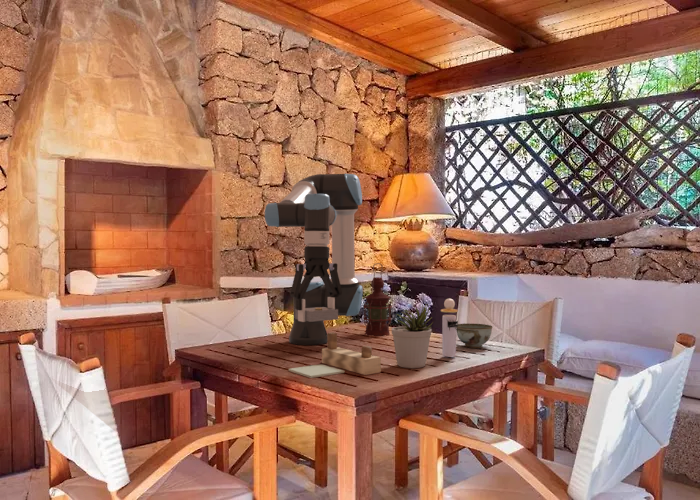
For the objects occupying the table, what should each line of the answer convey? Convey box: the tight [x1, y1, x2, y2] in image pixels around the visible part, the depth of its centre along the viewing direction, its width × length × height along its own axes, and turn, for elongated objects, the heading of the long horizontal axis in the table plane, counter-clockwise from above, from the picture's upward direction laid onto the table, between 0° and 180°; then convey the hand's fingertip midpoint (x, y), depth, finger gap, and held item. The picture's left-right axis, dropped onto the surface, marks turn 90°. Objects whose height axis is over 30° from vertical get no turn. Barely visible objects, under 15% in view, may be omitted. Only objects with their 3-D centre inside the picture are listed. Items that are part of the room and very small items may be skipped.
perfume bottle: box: [440, 297, 459, 357], centre depth 205 cm, size 6×6×20 cm
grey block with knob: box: [295, 307, 339, 322], centre depth 181 cm, size 8×10×3 cm
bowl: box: [456, 322, 493, 349], centre depth 227 cm, size 14×13×8 cm
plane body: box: [321, 332, 382, 376], centre depth 188 cm, size 22×6×10 cm, turn 38°
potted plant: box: [391, 303, 434, 369], centre depth 191 cm, size 13×14×20 cm
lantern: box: [362, 262, 393, 337], centre depth 257 cm, size 12×12×30 cm
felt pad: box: [288, 363, 345, 379], centre depth 182 cm, size 12×12×1 cm
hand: (316, 319), depth 182 cm, fingers closed on grey block with knob, 10 cm apart
